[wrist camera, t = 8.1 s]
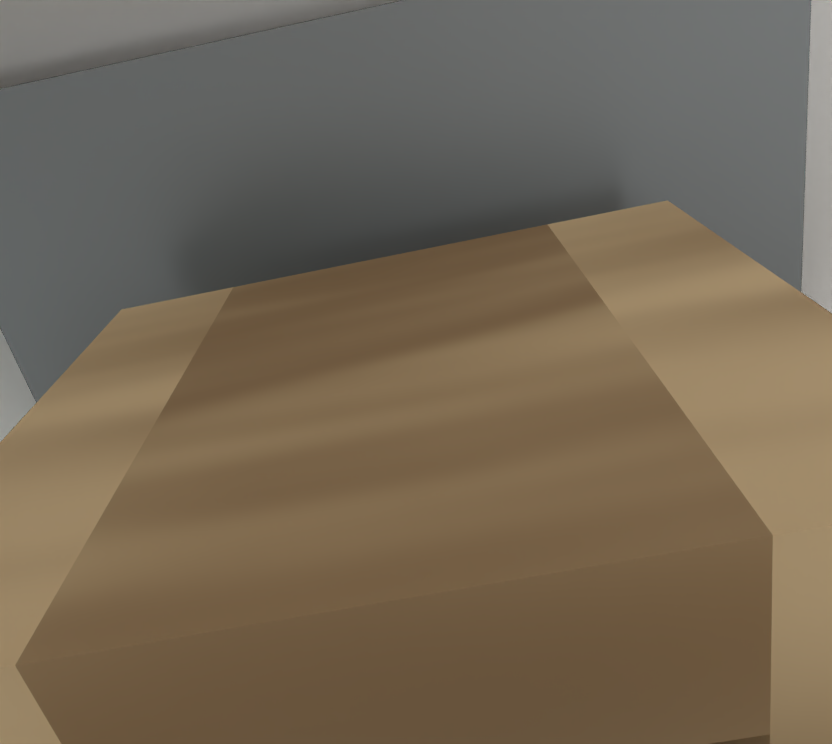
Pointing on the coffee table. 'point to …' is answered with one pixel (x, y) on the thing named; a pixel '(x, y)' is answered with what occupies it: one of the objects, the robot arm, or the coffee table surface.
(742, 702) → the wooden square frame
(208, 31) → the coffee table surface
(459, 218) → the post base
